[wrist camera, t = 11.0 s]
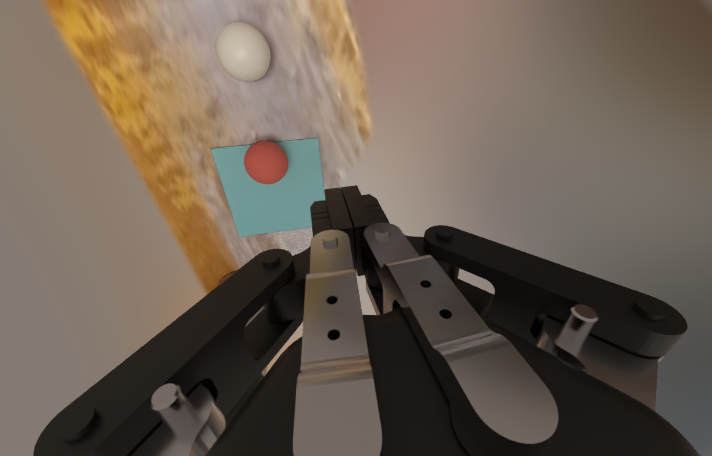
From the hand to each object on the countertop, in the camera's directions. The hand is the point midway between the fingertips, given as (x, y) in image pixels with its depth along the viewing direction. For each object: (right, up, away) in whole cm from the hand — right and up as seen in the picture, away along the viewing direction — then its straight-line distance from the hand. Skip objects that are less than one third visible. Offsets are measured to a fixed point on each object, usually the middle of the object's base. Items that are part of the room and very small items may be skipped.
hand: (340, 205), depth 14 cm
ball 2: (-11, +7, +25) cm, 28 cm away
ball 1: (-11, +18, +18) cm, 28 cm away
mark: (-11, +5, +30) cm, 32 cm away
